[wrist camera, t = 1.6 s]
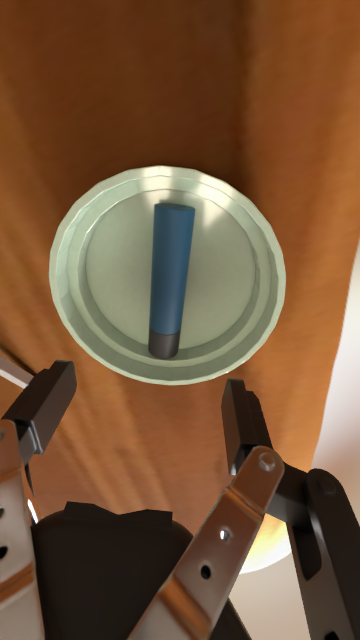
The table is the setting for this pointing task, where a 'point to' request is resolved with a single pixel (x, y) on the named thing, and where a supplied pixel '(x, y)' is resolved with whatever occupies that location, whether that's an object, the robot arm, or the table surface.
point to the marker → (169, 276)
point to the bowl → (136, 264)
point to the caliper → (14, 373)
